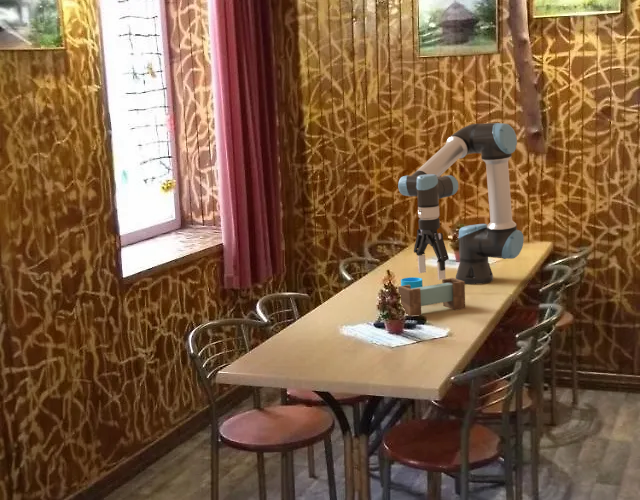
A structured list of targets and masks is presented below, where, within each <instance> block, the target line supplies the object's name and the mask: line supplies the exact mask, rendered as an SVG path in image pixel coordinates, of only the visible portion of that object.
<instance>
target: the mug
mask: <svg viewBox="0 0 640 500" xmlns="http://www.w3.org/2000/svg"><path fill="white" fill-rule="evenodd" d="M404 285H411V288H418V287H424V285H423V278H421V277H411V276H410V277H404V278H403V277H402V278H401V279H400V286H404Z"/></svg>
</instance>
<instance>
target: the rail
mask: <svg viewBox="0 0 640 500" xmlns="http://www.w3.org/2000/svg"><path fill="white" fill-rule="evenodd" d="M418 288H420V293H421V307H424V306H431V305H435V304H441V303H442V304H443V302H449V301H453V284H452V283H450V282H449V283H443V284H442V283H437V284H432V285H425V286H424V285H423V287H418ZM411 289H416V288H411Z"/></svg>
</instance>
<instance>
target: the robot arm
mask: <svg viewBox="0 0 640 500" xmlns="http://www.w3.org/2000/svg"><path fill="white" fill-rule="evenodd" d="M517 144H518V139H517V135H516V131H515V130H514V128H513V127H512V126H511V125H510V124H508V123H501V122H490V123H489V122H488V123H486V122H485V123H472V124H468V125H466V126H464V127H462V128H460V129H459V130H456V131H455V132H454V133H453V134H451V135H450V136H449V137H448V138H447V140H446V142H445V144H444V145H443V146H442V147H441V148H440V149H438V151H437V152H436V153H434V154H433V155H432V156H431V157H430V158H429V159H428V160H427V161H426V162H424V163H423V164H422V166H420V167H419V168H418V169H417V170H416V171H415V172H413V173H412V174H411V175H407V174H406V175H404V176H401V177H400V178H399V180H398V183H397V184H398V185H397V187H398V191H399V193H400V194H401V195H402V196H406V197H417V214H418V218H419V219H418V229H417V230H416V239H415V243H414V247H413V253H415V254H416V256H417V267H418V274H424V273H427V268H426V267H427V266H426V255H425V254H426V249H427V246H428V245H430V246H431V247H432V249H433V251H434V254H435V256H436V258H437V261H436V266H437V281H439V280H440V281H442V279H447V278H446V261H448V260H450V258H449V255H448V252H447V248H446V244H445V241H444V236H443V233H442V232H439V233H438V230H440V228H441V224H440V223H441V221H440V218H439V217H440V203H439V202H440V201H439V200H440V199H444V198H447V197H449V198H450V197H451V196H454V195H455V194H456V193H457V192H458V189H459V182H458V179H457V178H456V177H455V176H453V175H451V174H449V175H443V174H444V173H445V172H446V171H447V170H449V168H451V166H453V164H455V163H456V162H457V161H458V160H459V159H463V158H465V157H466V156H468V155H470V154H480V155H481V157H480V158H481V161H483V162H484V163H485V168H486V183H487V184H486V186H487V195H488V209H489V220H490V222H489V223H488V224H487V223H478V224H469V225H465V226H462V227H460V228H459V230H458V237H457V238H458V252H459V255H458V256H459V263H458V268H457V270H456V275H455V279H458V280H462V281H465V285H481V284H488V283H491V282H493V281H494V275H493V272H492V268H491V266H490V262H489V258H494V259H504V260H506V259H510V260H511V259H516V258H517V257H518V256H519V255H520V253H521V251H522V249H523V246H524V242H525V241H524V239H525V238H524V234H523V232H522V231H521V230H519V229H518V228H517V223H516V222H515V221H514V220H513V213H512V211H513V210H512V197H511V183H510V170H509V160H510V159H511V158H512V154H513V153H515V151H516V149H517ZM442 175H443V176H442Z"/></svg>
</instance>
